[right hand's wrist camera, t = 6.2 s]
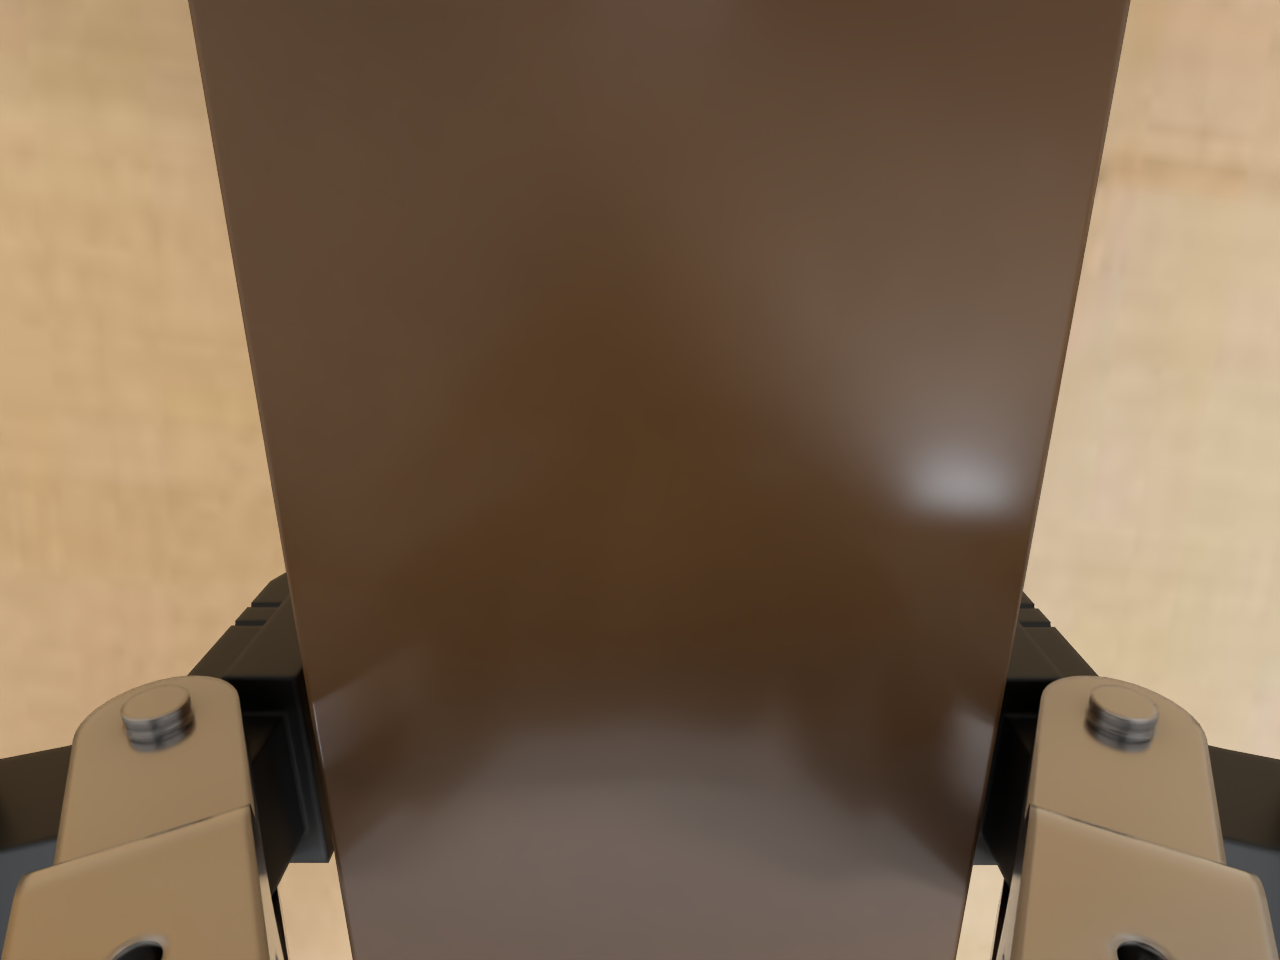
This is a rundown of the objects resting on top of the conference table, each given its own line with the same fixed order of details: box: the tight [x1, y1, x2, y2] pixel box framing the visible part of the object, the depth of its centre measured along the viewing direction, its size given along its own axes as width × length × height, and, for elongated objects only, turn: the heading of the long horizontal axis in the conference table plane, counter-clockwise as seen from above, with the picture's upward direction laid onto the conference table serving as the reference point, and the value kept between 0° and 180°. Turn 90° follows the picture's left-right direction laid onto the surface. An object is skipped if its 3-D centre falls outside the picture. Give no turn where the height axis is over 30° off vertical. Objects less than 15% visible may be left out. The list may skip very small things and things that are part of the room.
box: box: [188, 0, 1130, 960], centre depth 10 cm, size 22×6×12 cm, turn 0°
